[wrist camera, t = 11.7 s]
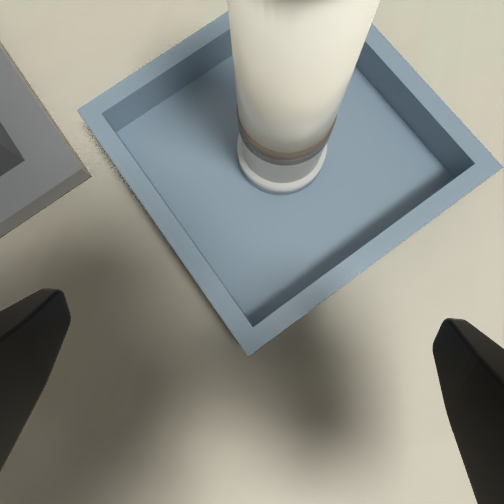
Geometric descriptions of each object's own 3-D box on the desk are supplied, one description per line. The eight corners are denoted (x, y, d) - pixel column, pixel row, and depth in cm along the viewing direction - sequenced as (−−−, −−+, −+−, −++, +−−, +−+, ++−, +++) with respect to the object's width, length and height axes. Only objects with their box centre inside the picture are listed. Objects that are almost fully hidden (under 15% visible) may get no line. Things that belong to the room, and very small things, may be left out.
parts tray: (470, 187, 18) (503, 167, 15) (250, 351, 17) (248, 356, 14) (305, 1, 20) (311, -44, 17) (101, 137, 19) (77, 110, 17)
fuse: (340, 163, 17) (510, -164, 6) (271, 211, 17) (301, -30, 5) (289, 100, 18) (346, -311, 6) (221, 146, 18) (148, -201, 6)
